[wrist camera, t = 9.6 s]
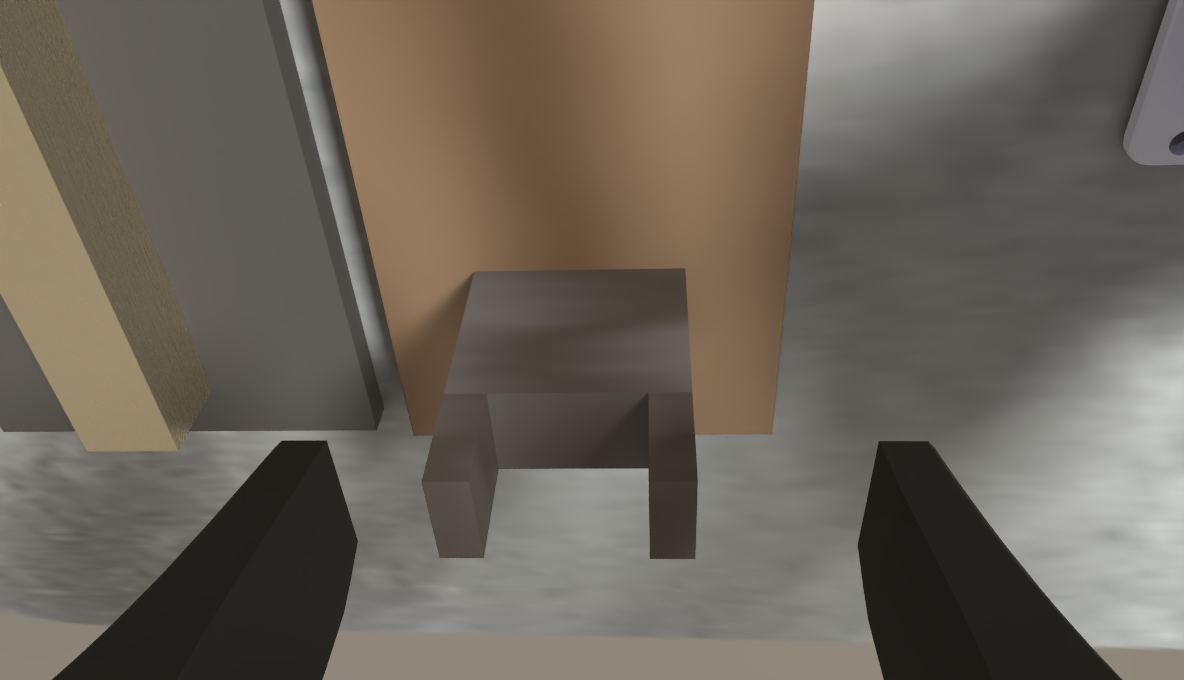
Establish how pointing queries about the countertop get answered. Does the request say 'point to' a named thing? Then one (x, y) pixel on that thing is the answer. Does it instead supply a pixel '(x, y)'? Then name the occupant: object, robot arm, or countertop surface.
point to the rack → (575, 230)
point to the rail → (85, 252)
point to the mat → (221, 215)
